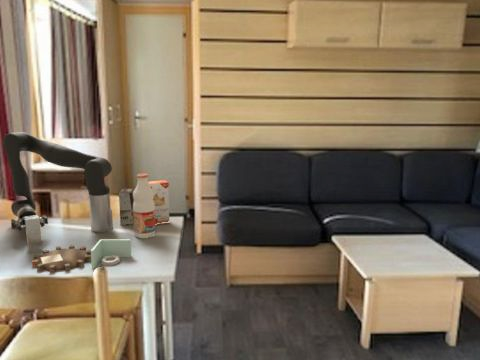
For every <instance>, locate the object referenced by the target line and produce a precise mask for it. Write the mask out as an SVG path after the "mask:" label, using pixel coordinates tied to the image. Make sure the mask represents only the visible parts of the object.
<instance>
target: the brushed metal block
mask: <svg viewBox="0 0 480 360" xmlns="http://www.w3.org/2000/svg"><path fill="white" fill-rule="evenodd" d="M39 217H40V216H39V215H38V214H36V215H33V216H26V217H24V218H25V227H24V228H25V236H26V245H27V251H28V254H32V253H38V252H42V251H44V250H43V243H42V241H43V240H42V232H41V225H40V219H39Z"/></svg>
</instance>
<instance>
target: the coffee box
mask: <svg viewBox="0 0 480 360" xmlns="http://www.w3.org/2000/svg"><path fill="white" fill-rule="evenodd" d="M135 188H136V187H135ZM135 188H133V187H132V188H130V187H129V188H121V190H119V192H118V201H119V203H118V205H119V219H120V221H119V223H120V225H121V226H127V225H126V224H133V223H134V215H133V204H134V198H133V191H134V190H135ZM133 225H134V224H133Z"/></svg>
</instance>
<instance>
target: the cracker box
mask: <svg viewBox="0 0 480 360" xmlns="http://www.w3.org/2000/svg"><path fill="white" fill-rule="evenodd" d="M148 182H149V185H150V187H151V188H152V190H153V192H154V197H153V202H154V205H155V224H157V223H162V222H168V221H169V222H170V186H169V184H170V183H169V181H167V180H165V179H162V180H152V181H148Z"/></svg>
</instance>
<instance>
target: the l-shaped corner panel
mask: <svg viewBox="0 0 480 360" xmlns="http://www.w3.org/2000/svg"><path fill="white" fill-rule="evenodd" d="M131 241H132V240H131V238H130V239H128V238H122V239H121V238H119V239H118V238H115V239H114V238H111V239H110V238H102V239H101V238H100V239H99V240H98V241H97V242H96V244H95V245H94V246H93V247H92V248H91V249H90V250H91V261H90V262H91V269H95V268H96V267H97V265H98V264H99V262H100V261H101V265H102V266H105V267H107V266H109V267H111V266H114V265H117V264H119V263H120V261H121V259H120V258H124V257H125V258H132V242H131Z"/></svg>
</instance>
